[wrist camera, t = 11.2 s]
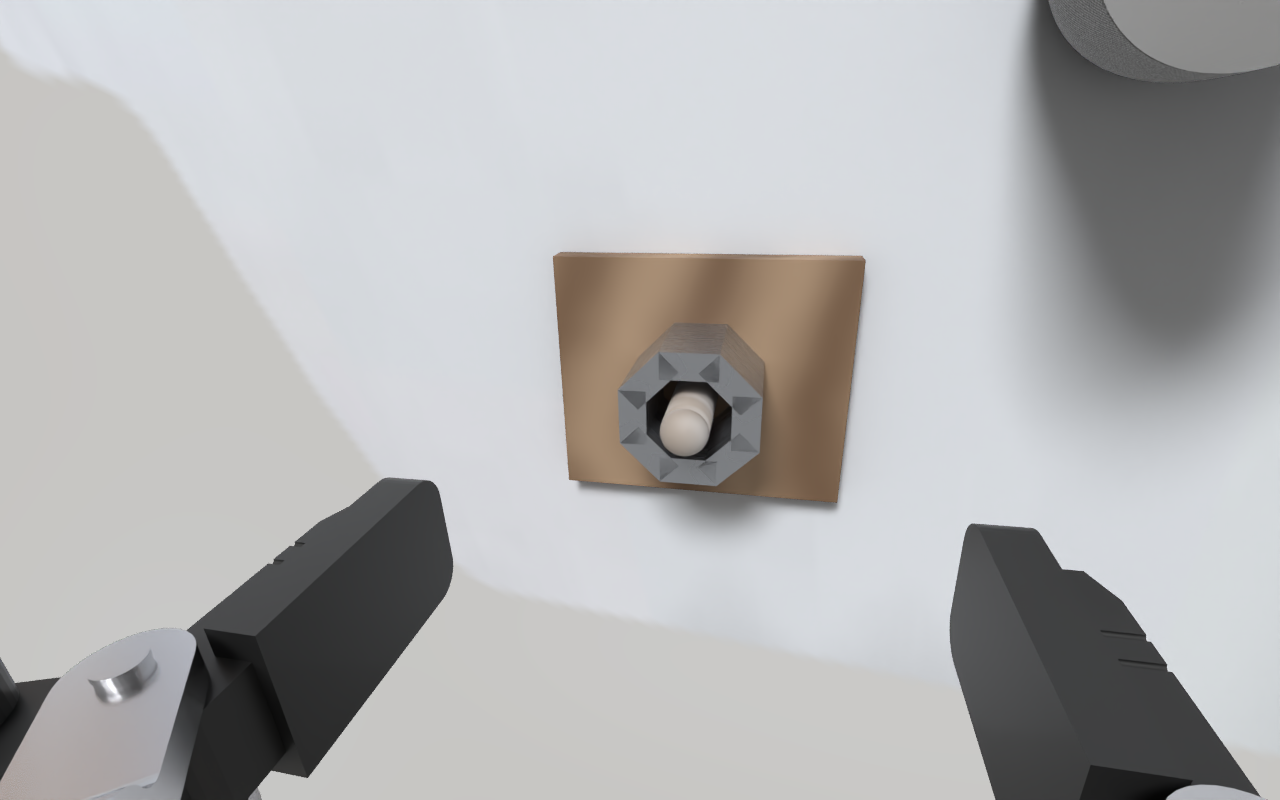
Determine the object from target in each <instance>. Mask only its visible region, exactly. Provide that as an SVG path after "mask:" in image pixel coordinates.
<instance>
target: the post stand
mask: <svg viewBox="0 0 1280 800" xmlns="http://www.w3.org/2000/svg"><path fill="white" fill-rule="evenodd" d="M553 265H554V278H555V292H556V306H557V319H558V333H559V347H560V361H561V374H562V388H563V402H564V415H565V429H566V443H567V456H568V470H569V480H578V481H589V482H601V483H613V484H625V485H636V486H648V487H660V488H671V489H683V490H695V491H707V492H718V493H730V494H742V495H754V496H765V497H777V498H789V499H801V500H812V501H824V502H836V503H837V499H838V490H839V482H840V473H841V465H842V456H843V448H844V439H845V431H846V423H847V414H848V406H849V397H850V389H851V380H852V372H853V363H854V355H855V346H856V338H857V329H858V321H859V312H860V304H861V295H862V287H863V278H864V270H865V259H864V258H863V257H862V256H826V255H745V254H663V253H582V252H560V253H558V254H557V255H555V256H553ZM674 323H704V324H728V325H729V326H730V327H731V328H732V329H733V330H734V331H735V332H736V333H737V334H738V335H739V336H740V337H741V338H742V339H743V340H744V341H745V342H746V343H747V344H748V345H749V346H750V348H751V349H752V350H753V351H754V352H755V353H756V354H757V355H758V356H759V357H760V358H761V359H762V360H763V361H764V382H763V402H762V419H761V437H760V453H759V454H758V455H756V456H755V457H754V458H752V459H751V460H750V461H748V462H747V463H746V464H744V465H743V466H742V467H741V468H739V469H738V470H737V471H735V472H734V473H733V474H731V475H730V476H729V477H728V478H726V479H725V480H724V481H722V482H721V483H720V484H718V485H717V486H709V485H696V484H684V483H672V482H660V481H659V480H658V479H657V478H656V477H655V476H654V475H653V474H651V473H650V472H649V471H648V470H647V469H646V468H645V467H644V466H643V465H642V464H641V463H640V462H639V461H638V460H637V459H636V458H635V457H634V456H633V455H632V454H631V453H630V452H629V451H627V450H626V449H625V448H624V447H623V446H622V445H621V444H620V437H619V411H618V389H619V387H620V386H621V384H622V383H623V381H624V379H625V378H626V376H627V375H628V373H629V371H630V370H631V368H632V367H633V365H634V364H635V362H636V360H637V359H638V357H639V356H640V355H641V354H642V353H643V352H644V351H645V350H646V349H647V348H648V347H649V346H651V345H652V344H653V343H654V342H655V341H656V340H657V339H658V338H659V337H660V336H661V335H662V334H663V333H664V332H665V331H666V330H667V329H668V328H669V327H671V326H672V325H673V324H674ZM664 397H665V398H666V399H667V400H668V401H670V403H669V405H668V408H667V410H666V413H665V415H664V418H663V420H662V423H661V426H660V437H661V440H662V443H663V444H664V446H665V447H666V448H667V449H668V450H669V451H670V452H672V453H673V454H676V455H679V456H691V455H694V454H696V453H698V452H699V451H701V450H702V449H703V448H704V446H705V445H706V443H707V441H708V438H709V434H710V429H711V425H712V420H713V418H716V417H717V416H718V415H719V414H720V413H722V412H723V411H724V410H725V409H726V408H728V407H729V406H730V405H729V404H728V403H727V402H726V401H725V400H724V399H723V398H722V397H721V396H720V395H719V394H718V393H717V392H716V391H715V390H714V389H713V388H712V387H711V386H710V385H709V384H708V383H707V382H693V381H673V380H670V381H669V382H668V383H667V384H666V385H665V386H664Z"/></svg>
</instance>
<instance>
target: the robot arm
mask: <svg viewBox="0 0 1280 800" xmlns="http://www.w3.org/2000/svg"><path fill="white" fill-rule="evenodd" d="M452 573H453V558H452V552H451V548H450V543H449V538H448V533H447V528H446V523H445V518H444V513H443V508H442V503H441V498H440V494H439V491H438V488H437V487H436V485H435V484H434V483H433V482H431V481H427V480H414V479H401V478H384V479H382V480H381V481H379V482H378V483H377V484H376V485H374V486H373V487H372V488H371V489H370V490H369V491H367V492H366V493H365V494H364V495H362V496H361V497H360V498H359V499H358V500H356V501H355V502H354V503H353V504H352V505H350V506H349V507H347V508H345V509H343V510H341V511H339V512H337V513H335V514H334V515H332V516H330V517H328V518H326V519H324V520H322V521H320V522H319V523H318V524H316V525H315V526H314V527H313V528H311V529H310V530H309V531H308V532H307V533H305V534H304V535H303V536H302V537H300V538H299V539H298V540H297V541H295V545H294V546H289V547H288V548H287V549H286V550H285V551H283V552H282V553H281V554H280V555H278V556H277V557H276V558H275V559H274V562H273V564H267V565H266V566H265V567H264V568H262V569H261V570H260V571H259V572H258V573H256V574H255V575H254V576H253V577H251V578H250V579H249V580H248V581H246V582H245V583H244V584H243V585H242V586H240V587H239V588H238V589H237V590H235V591H234V592H233V593H232V594H231V595H230V596H228V597H227V598H226V599H224V600H223V601H222V602H221V603H220V604H218V605H217V606H216V607H215V608H213V609H212V610H211V611H210V612H208V613H207V614H206V615H205V616H204V617H202V618H201V619H200V620H199V621H197V622H196V623H195V624H194V625H193V626H191V627H190V628H189V629H188V630H187V631H186V630H182V629H177V628H161V629H154V630H149V631H145V632H141V633H138V634H134V635H131V636H128V637H126V638H124V639H121V640H118V641H116V642H114V643H112V644H110V645H108V646H105V647H103V648H102V649H100V650H98V651H96V652H95V653H93V654H91V655H90V656H88V657H86V658H85V659H83V660H82V661H80V662H79V663H78V664H77V665H75V666H74V667H73V668H71V669H70V670H69V671H68V672H67V673H66V674H65V675H63V676H62V677H60V678H52V679H44V680H36V681H29V682H20V683H14V681H13V679H12V677H11V676H10V674H9V672H8V671H7V669H6V667H5V666H4V664H3V662H2V660H1V659H0V800H262V799H261V795H260V792H259V790H258V788H257V787H258V786H259V784H260V783H261V782H262V781H263V779H264V778H265V777H266V776H267V775H268V774H269V772H270V771H276V772H281V773H286V774H291V775H296V776H301V777H306V778H308V777H309V775H310V774H311V773H312V772H313V770H314V769H315V768H316V766H317V765H318V764H319V762H320V761H321V760H322V758H323V757H324V756H325V754H326V753H327V752H328V750H329V749H330V748H331V747H332V745H333V744H334V742H335V741H336V740H337V738H338V737H339V736H340V735H341V733H342V732H343V731H344V729H345V728H346V727H347V725H348V724H349V722H350V721H351V720H352V719H353V717H354V716H355V715H356V713H357V712H358V711H359V709H360V708H361V707H362V705H363V704H364V703H365V701H366V700H367V699H368V698H369V696H370V695H371V694H372V692H373V691H374V690H375V688H376V687H377V686H378V684H379V683H380V681H381V680H382V679H383V678H384V676H385V675H386V674H387V672H388V671H389V670H390V668H391V667H392V666H393V664H394V663H395V662H396V660H397V659H398V658H399V656H400V655H401V654H402V653H403V651H404V650H405V649H406V647H407V646H408V645H409V643H410V642H411V641H412V639H413V638H414V636H415V635H416V634H417V633H418V631H419V630H420V629H421V627H422V626H423V625H424V623H425V622H426V621H427V619H428V618H429V617H430V615H431V614H432V613H433V611H434V610H435V609H436V607H437V606H438V605H439V603H440V602H441V601H442V600H443V598H444V597H445V595H446V593H447V591H448V588H449V586H450V582H451V579H452ZM950 644H951V652H952V657H953V662H954V665H955V669H956V672H957V675H958V678H959V682H960V685H961V688H962V691H963V695H964V698H965V701H966V704H967V708H968V711H969V714H970V718H971V721H972V724H973V727H974V731H975V734H976V737H977V741H978V744H979V747H980V750H981V754H982V757H983V760H984V763H985V767H986V770H987V773H988V776H989V780H990V783H991V786H992V790H993V793H994V796H995V799H996V800H1267V799H1264V798H1262V797H1260V795H1259V794H1258V792H1257V791H1256V789H1255V788H1254V787H1253V785H1252V784H1251V783H1250V781H1249V780H1248V778H1247V777H1246V776H1245V774H1244V773H1243V771H1242V770H1241V768H1240V767H1239V765H1238V764H1237V763H1236V761H1235V760H1234V758H1233V757H1232V756H1231V754H1230V753H1229V751H1228V750H1227V748H1226V747H1225V746H1224V744H1223V743H1222V741H1221V740H1220V739H1219V737H1218V736H1217V734H1216V733H1215V732H1214V730H1213V729H1212V727H1211V726H1210V724H1209V723H1208V722H1207V720H1206V719H1205V717H1204V716H1203V715H1202V713H1201V712H1200V710H1199V709H1198V708H1197V706H1196V705H1195V703H1194V702H1193V700H1192V699H1191V698H1190V696H1189V695H1188V693H1187V692H1186V691H1185V689H1184V688H1183V686H1182V685H1181V684H1180V682H1179V681H1178V679H1177V678H1176V676H1175V675H1174V674H1173V672H1168V671H1167V664H1166V662H1165V661H1164V660H1163V658H1162V657H1161V655H1160V654H1159V652H1158V651H1157V650H1156V648H1155V647H1154V645H1153V644H1152V643H1151V642H1147V641H1146V634H1145V633H1144V631H1143V630H1142V628H1141V627H1140V626H1139V624H1138V623H1137V621H1136V620H1135V619H1134V617H1133V616H1132V614H1131V613H1130V611H1129V610H1128V609H1127V607H1126V606H1125V604H1124V603H1123V602H1122V601H1121V600H1120V599H1119V598H1118V597H1116V596H1115V595H1114V594H1112V593H1111V592H1110V591H1108V590H1107V589H1106V588H1105V587H1103V586H1102V585H1101V584H1099V583H1098V582H1097V581H1095V580H1094V579H1093V578H1092V577H1090V576H1089V575H1088V574H1086V573H1085V572H1084V571H1075V570H1063V569H1061V567H1060V565H1059V564H1058V562H1057V560H1056V559H1055V557H1054V556H1053V554H1052V552H1051V551H1050V549H1049V548H1048V546H1047V544H1046V543H1045V541H1044V540H1043V538H1042V536H1041V535H1040V533H1039V532H1038V531H1037V530H1036V529H1033V528H1024V527H1011V526H998V525H985V524H971V525H969V527H968V528H967V530H966V533H965V537H964V542H963V547H962V553H961V558H960V564H959V570H958V575H957V581H956V586H955V592H954V598H953V603H952V609H951V615H950Z"/></svg>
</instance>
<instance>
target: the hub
mask: <svg viewBox="0 0 1280 800" xmlns="http://www.w3.org/2000/svg"><path fill="white" fill-rule="evenodd" d="M670 380H673V381H693V382H707V383H708V384H709V385H710V386H711V387H712V388H713V389H714V390H715V391H716V392H717V393H718V394H719V395H720V396H721V397H722V398H723V399H724V400H725V401H726V402H727V403H728V404H729V405H730V406H729V407H728V408H726V409H725V410H724V411H723V412H722V413H720V414H719V415H718V416H717V417H716V418H713V420H712V425H711V429H710V434H709V438H708V441H707V443H706V445H705V446H704V448H703V449H702V450H701V451H699V452H698V453H696V454H694V455H691V456H679V455H676V454H673V453H672V452H670V451H669V450H668V449H667V448H666V447H665V446H664V444H663V443H662V440H661V437H660V426H661V423H662V420H663V418H664V415H665V413H666V410H667V408H668V405H669V403H670V401H668V400H667V399H666V398H665V397H664V386H665V385H666V384H667V383H668V382H669V381H670ZM763 382H764V361H763V360H762V359H761V358H760V357H759V356H758V355H757V354H756V353H755V352H754V351H753V350H752V349H751V348H750V346H749V345H748V344H747V343H746V342H745V341H744V340H743V339H742V338H741V337H740V336H739V335H738V334H737V333H736V332H735V331H734V330H733V329H732V328H731V327H730V326H729V325H728V324H704V323H674V324H673V325H672V326H671V327H669V328H668V329H667V330H666V331H665V332H664V333H663V334H662V335H661V336H660V337H659V338H658V339H657V340H656V341H655V342H654V343H653V344H652V345H651V346H649V347H648V348H647V349H646V350H645V351H644V352H643V353H642V354H641V355H640V356H639V357H638V359H637V360H636V362H635V364H634V365H633V367H632V368H631V370H630V371H629V373H628V375H627V376H626V378H625V379H624V381H623V383H622V384H621V386H620V387H619V389H618V411H619V437H620V444H621V445H622V446H623V447H624V448H625V449H626V450H627V451H629V452H630V453H631V454H632V455H633V456H634V457H635V458H636V459H637V460H638V461H639V462H640V463H641V464H642V465H643V466H644V467H645V468H646V469H647V470H648V471H649V472H650V473H651V474H653V475H654V476H655V477H656V478H657V479H658V480H659V481H660V482H672V483H684V484H696V485H709V486H717V485H718V484H720V483H721V482H722V481H724V480H725V479H726V478H728V477H729V476H730V475H731V474H733V473H734V472H735V471H737V470H738V469H739V468H741V467H742V466H743V465H744V464H746V463H747V462H748V461H750V460H751V459H752V458H754V457H755V456H756V455H758V454H759V453H760V437H761V419H762V402H763Z"/></svg>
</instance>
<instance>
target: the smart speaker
mask: <svg viewBox="0 0 1280 800" xmlns="http://www.w3.org/2000/svg"><path fill="white" fill-rule="evenodd" d="M1048 2H1049V5H1050V9H1051V12H1052V15H1053V17H1054V19H1055V22H1056V24H1057V26H1058V27H1059V29H1060V31H1061V33H1062V34H1063V36H1064V37H1065V38H1066V40H1067V41H1068V42H1069V43H1070V45H1071V46H1072V47H1073V48H1074V49H1075V50H1076V51H1077V52H1078V53H1080V54H1081V55H1082V56H1083V57H1084V58H1086V59H1087V60H1089V61H1090V62H1092V63H1093V64H1095V65H1096V66H1098V67H1100V68H1102V69H1104V70H1107V71H1109V72H1111V73H1114V74H1117V75H1120V76H1124V77H1127V78H1130V79H1135V80H1140V81H1148V82H1161V83H1177V82H1193V81H1201V80H1208V79H1216V78H1221V77H1226V76H1231V75H1236V74H1241V73H1246V72H1250V71H1255V70H1259V69H1264V68H1268V67H1272V66H1276V65H1279V64H1280V0H1048Z"/></svg>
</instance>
